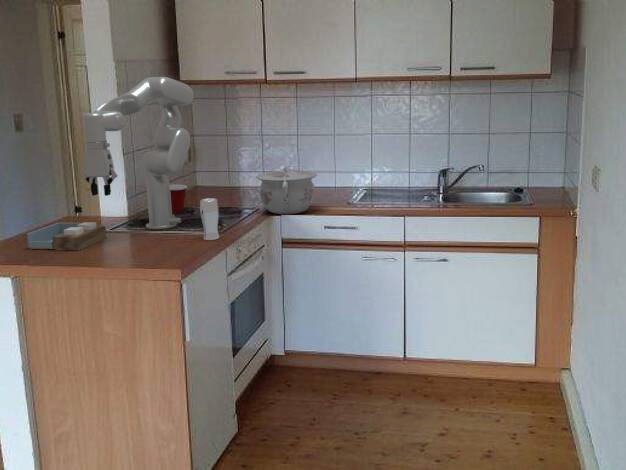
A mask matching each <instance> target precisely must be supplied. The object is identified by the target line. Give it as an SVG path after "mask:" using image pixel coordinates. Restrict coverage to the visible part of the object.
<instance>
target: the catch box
mask: <svg viewBox="0 0 626 470" xmlns="http://www.w3.org/2000/svg"><path fill="white" fill-rule="evenodd" d="M78 224H81V223H80V222H56V223H53V224H50V225H48V226H45V227H42V228H39V229H36V230H33V231H31V232H28V233H26V237H27V244H28V248H29V247H31V248H49V249H53V248H54V247H53V239H52V237H53V236H56V235H59V234H61V233H64V230H65V229H68V228H70V227H77V225H78Z"/></svg>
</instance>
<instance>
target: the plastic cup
mask: <svg viewBox="0 0 626 470" xmlns="http://www.w3.org/2000/svg"><path fill="white" fill-rule="evenodd" d="M187 188H188V186H187V185H185V184H170V194H171V206H172V213H181V212H183V211H184V207H185V201H186V199H185V198H186V191H187Z"/></svg>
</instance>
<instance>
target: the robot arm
mask: <svg viewBox="0 0 626 470" xmlns="http://www.w3.org/2000/svg"><path fill="white" fill-rule="evenodd" d="M194 97H195V94H194V91H193V88H191V87H190V86H189V84H186V83H184V82H181V81H179V80H177V79H176V80H175V79H173V78H170V77H167V76H150V77H146V78H144V79H142V81H140V82H139V83H138V84H136V85H135V86H134V87H133V88H131V89H130V90H128V91H127V92H126V93H124V94H122V95H120V96H118V97H116V98H115V97H114V98H113V99H111V100H108V101H107V102H105V103H103V104H102V105H100V106H98V107H97V109H95V110H94V111H93V112H87V113H84V114H83V115H82V123H83V129H84V130H83V132H84V133H83V134H84V140H85V141H84V142H85V151H84V159H83V163H84V164H83V167H84V169H83V172H82V174H81V178H82V179H84V180H85V181H86V182H87V183H88V185H89V186H90V193H91V196H93V197H94V196H97V195H98V194H99V189H98V188H99V187H98V184H97V183H96V182H97V178H102V179H103V182H104V185H103V191H104V192H103V193H104V196H110V195H111V194H112V190H111V189H112V188H111V184H112V183H113V181H115V179H117V178H118V174H117V173H116V171H115V167H114V162H113V161H114V160H113V156H112V153H111V150H110V149H108V148H109V147H110V146H111V145H110V143H109V142H108V141H107V132H119V131H121V130H123V128H124V127H125V125H126V123H127V121H126V117H125V116H129V115H134V114H137V113H139V112H141V111H142V110H143V109H145V108H146V107H147V106H148V105H149V104H150V103H153V101H155V100H156V101H157V102H158V105H159V107H160V112H161V116H160V120H159V123H158V126H157V128H156V130H155V133H154V137H153V146H154V147H155V148H156V149H158V150H150V151H147V152H146V153H144V155H143V157H142V158H141V167H142V170H143V174H144V177H145V185H146V196H147V198H146V199H147V210H148V211H147V212H148V220H149V222H147V223H146V224H145V228H146V229H149V230H165V229H171V228H174V227H177V224H180V223H182V218H181V217H176V216H175V214H173V212H172V206H171V194H170V185H171V183H170V181H169V178H168V175H169V176H175V175H177V174H179V173H180V172H181V171H182V168H183V166H184V164H185V162H186V158H187V156H188V152H189V150H190V147H191V136H190V133H189V131H188V130H187V129H186V128H184V127H181V124H182V121H183V119H182V114H181V112H180V109H179V108H178V106H179V107H180V106H181V107H183V106H188V105H191V103H192V102H193V101H194Z"/></svg>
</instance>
